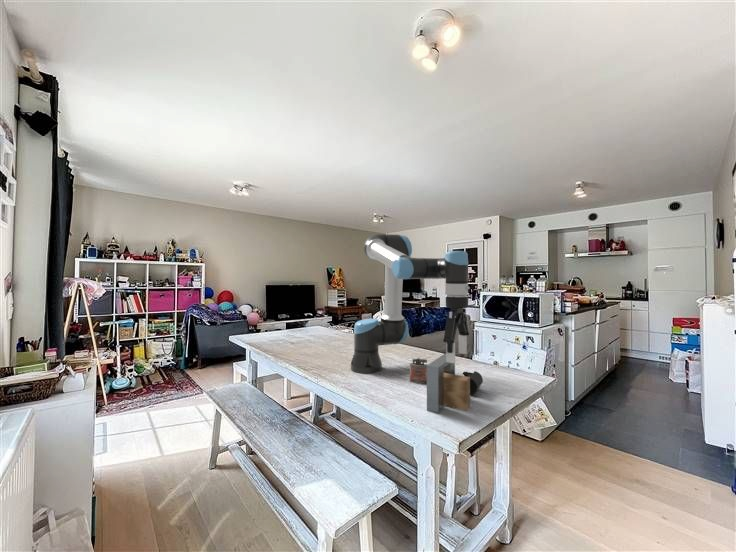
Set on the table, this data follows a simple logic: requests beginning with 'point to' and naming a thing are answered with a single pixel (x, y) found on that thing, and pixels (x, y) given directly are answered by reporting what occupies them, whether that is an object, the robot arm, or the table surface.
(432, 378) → the housing
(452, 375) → the plug
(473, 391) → the end cap
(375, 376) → the table surface
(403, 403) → the table surface
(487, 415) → the table surface
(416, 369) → the lighter
